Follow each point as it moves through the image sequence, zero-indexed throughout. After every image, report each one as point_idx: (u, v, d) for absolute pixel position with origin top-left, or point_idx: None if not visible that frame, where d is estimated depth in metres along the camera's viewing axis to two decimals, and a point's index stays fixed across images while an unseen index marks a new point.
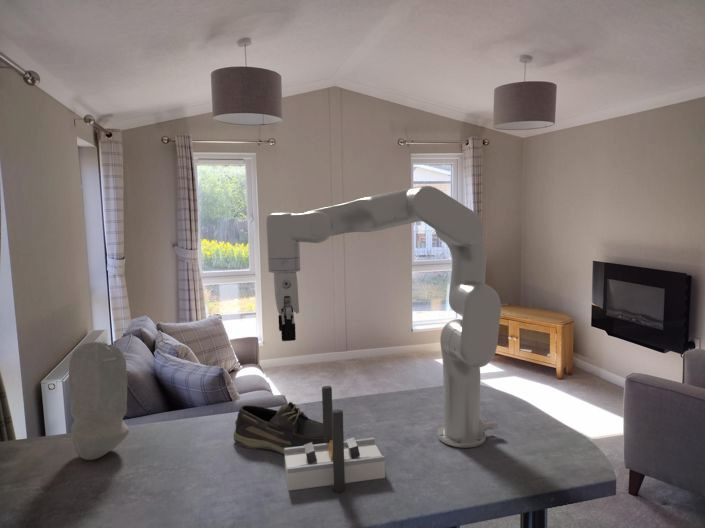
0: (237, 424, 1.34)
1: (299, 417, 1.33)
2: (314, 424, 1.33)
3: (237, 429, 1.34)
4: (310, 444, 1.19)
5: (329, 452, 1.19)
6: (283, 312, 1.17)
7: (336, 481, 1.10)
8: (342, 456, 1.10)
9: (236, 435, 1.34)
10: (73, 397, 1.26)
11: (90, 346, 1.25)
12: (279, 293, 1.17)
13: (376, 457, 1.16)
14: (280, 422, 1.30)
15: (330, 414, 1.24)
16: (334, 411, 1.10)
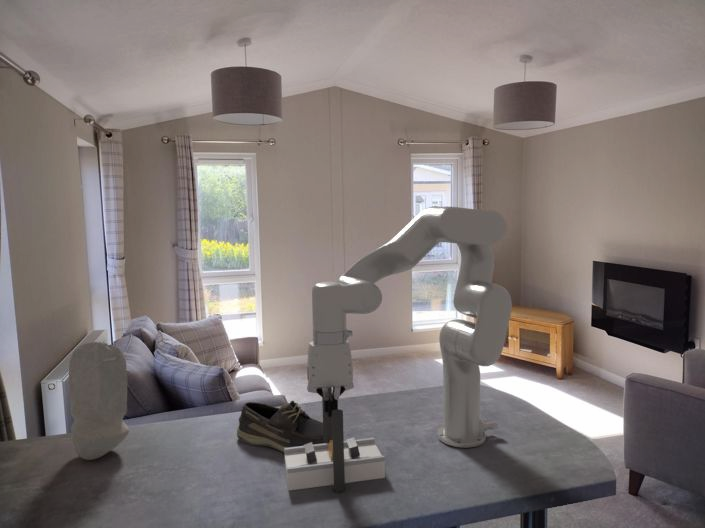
0: (240, 420, 1.36)
1: (300, 416, 1.34)
2: (315, 423, 1.34)
3: (240, 425, 1.36)
4: (310, 444, 1.19)
5: (329, 452, 1.19)
6: None
7: (336, 481, 1.10)
8: (342, 456, 1.10)
9: (239, 431, 1.36)
10: (73, 397, 1.26)
11: (90, 346, 1.25)
12: (351, 363, 1.15)
13: (376, 457, 1.16)
14: (280, 420, 1.31)
15: None
16: (334, 411, 1.10)
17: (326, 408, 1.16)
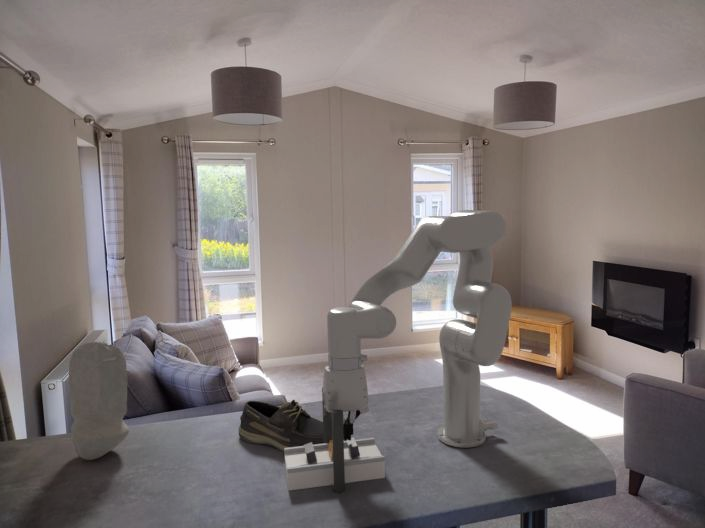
0: (241, 419, 1.37)
1: (300, 415, 1.34)
2: (315, 423, 1.34)
3: (241, 424, 1.37)
4: (310, 444, 1.19)
5: (329, 452, 1.19)
6: None
7: (336, 481, 1.10)
8: (342, 456, 1.10)
9: (240, 429, 1.37)
10: (73, 397, 1.26)
11: (90, 346, 1.25)
12: None
13: (376, 457, 1.16)
14: (280, 419, 1.32)
15: None
16: (334, 411, 1.10)
17: None
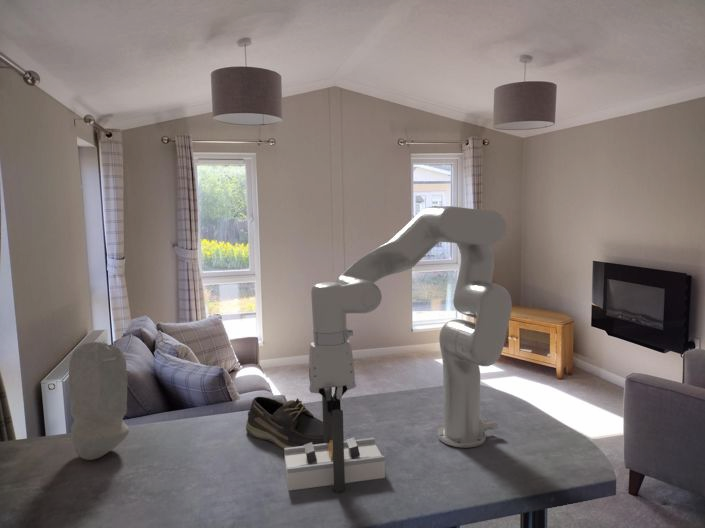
0: (248, 413, 1.41)
1: (302, 414, 1.35)
2: (316, 423, 1.34)
3: (248, 418, 1.41)
4: (310, 444, 1.19)
5: (329, 452, 1.19)
6: None
7: (336, 481, 1.10)
8: (342, 456, 1.10)
9: (247, 424, 1.40)
10: (73, 397, 1.26)
11: (90, 346, 1.25)
12: (353, 362, 1.15)
13: (376, 457, 1.16)
14: (281, 417, 1.33)
15: (330, 414, 1.24)
16: (334, 411, 1.10)
17: (329, 408, 1.16)
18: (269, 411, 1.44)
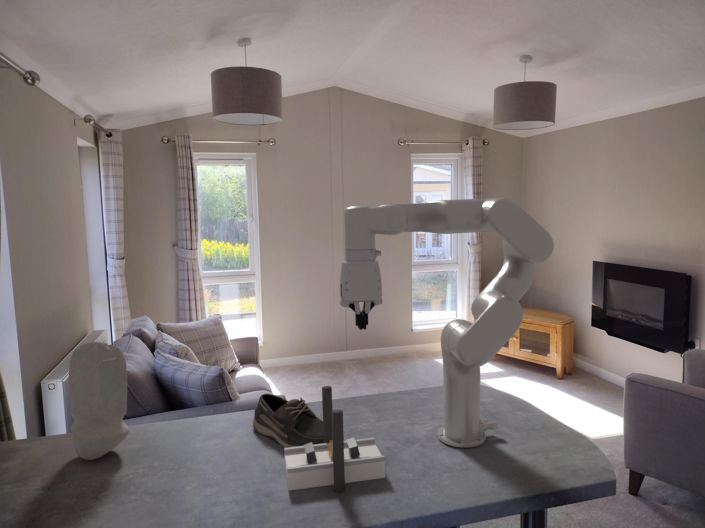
0: (255, 410, 1.43)
1: (304, 414, 1.35)
2: (317, 423, 1.34)
3: (255, 414, 1.43)
4: (310, 444, 1.19)
5: (329, 452, 1.19)
6: None
7: (336, 481, 1.10)
8: (342, 456, 1.10)
9: (253, 420, 1.43)
10: (73, 397, 1.26)
11: (90, 346, 1.25)
12: None
13: (376, 457, 1.16)
14: (283, 415, 1.34)
15: (330, 414, 1.24)
16: (334, 411, 1.10)
17: (358, 321, 1.27)
18: (276, 408, 1.46)
